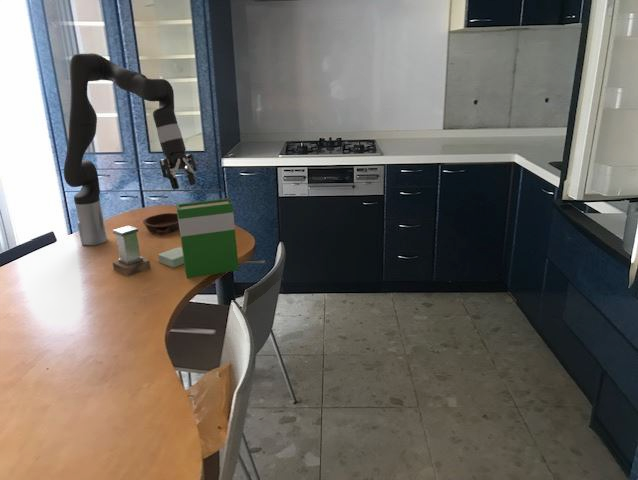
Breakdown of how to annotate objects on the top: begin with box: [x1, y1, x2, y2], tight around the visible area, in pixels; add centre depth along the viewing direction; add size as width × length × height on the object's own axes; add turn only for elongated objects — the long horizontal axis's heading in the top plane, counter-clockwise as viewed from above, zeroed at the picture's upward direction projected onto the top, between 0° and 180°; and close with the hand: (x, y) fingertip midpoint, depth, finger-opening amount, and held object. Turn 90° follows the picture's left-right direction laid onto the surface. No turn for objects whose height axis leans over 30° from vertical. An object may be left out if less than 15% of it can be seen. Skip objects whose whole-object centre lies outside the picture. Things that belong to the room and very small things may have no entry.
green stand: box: [157, 246, 184, 268], centre depth 185 cm, size 9×9×3 cm
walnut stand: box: [112, 257, 151, 278], centre depth 180 cm, size 9×9×3 cm
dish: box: [142, 212, 180, 236], centre depth 220 cm, size 18×22×5 cm
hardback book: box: [175, 197, 240, 279], centre depth 173 cm, size 18×7×24 cm, turn 108°
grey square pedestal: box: [112, 225, 144, 266], centre depth 177 cm, size 6×6×12 cm
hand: (184, 187), depth 172 cm, fingers open, 8 cm apart
